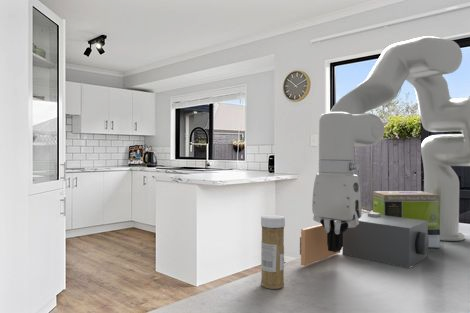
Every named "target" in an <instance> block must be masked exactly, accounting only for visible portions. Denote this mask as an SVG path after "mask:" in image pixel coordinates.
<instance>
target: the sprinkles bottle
mask: <svg viewBox="0 0 470 313" xmlns="http://www.w3.org/2000/svg"><path fill="white" fill-rule="evenodd" d="M260 226H261V245H260V246H261V248H260V250H261V251H260V252H261V255H260V258H261V259H260V260H261V261H260V264H261V265H260V266H261V281H260V285H261V286H262V287H263V288H265V289H269V290H277V289H279V290H280V289H282V288H283V287H284V286H285V279H284V277H285V276H284V273H285V271H284V270H285V244H284V243H285V242H284V239H285V238H284V236H285V235H284V234H285V232H284V230H285V226H286V218H285V216H284V215H280V214H263V215H261V216H260Z"/></svg>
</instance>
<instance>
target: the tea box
mask: <svg viewBox="0 0 470 313" xmlns="http://www.w3.org/2000/svg"><path fill="white" fill-rule="evenodd" d="M372 212H375V213H381V215H387V216H394V217H402V218H410V219H418V220H426V221H428V238H429V245H428V248H437V249H438V248H441V240H440V198H439V195H437V194H432V193H427V192H424V190H423V191H421V190H420V191H419V190H417V191H414V190H413V191H412V190H411V191H410V190H407V191H405V190H404V191H403V190H400V191H399V190H394V191H393V190H392V191H391V190H390V191H389V190H386V191H385V190H383V191H381V190H380V191H377V190H376V191H374V190H373V191H372Z"/></svg>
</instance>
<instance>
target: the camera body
mask: <svg viewBox="0 0 470 313" xmlns="http://www.w3.org/2000/svg"><path fill="white" fill-rule="evenodd" d="M358 220H359V226H357V227H352V228H348V229H347V230H346V231H345V232H344V233H343V247H342V255H345V256H350V257H354V258H359V259H364V260H368V261H374V262H378V263H382V264H387V265H391V266H396V267H401V268H405V269H410V268H412V267H414V266H415V265H416V263H417V262H418V263H419V261H420V262H421V261H423V260H424V259H426V258H427V257H428V250H429V247H428V245H429V238H428V221H426V220H418V219H410V218H402V217H394V216H387V215H381V213H375V212H373V211H370V212H364V213H363V212H362V213H361V217H360V218H359V219H358ZM347 222H350V221H347ZM422 259H423V260H422ZM418 263H417V264H418ZM414 264H415V265H414ZM411 266H412V267H411Z"/></svg>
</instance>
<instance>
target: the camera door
mask: <svg viewBox="0 0 470 313" xmlns="http://www.w3.org/2000/svg"><path fill="white" fill-rule="evenodd" d="M335 224H336V220H335ZM300 230H301V231H300V234H301V235H300V237H299V255H300V265H301V266H302V267H303V266H304V267H305V266H309V265H311V264H313V263H316V262H318V261H322V260H323V259H326V258H329V257H332V256H334V255H337V254H340V253H341V250H340V251H337V252H333V251H328V245H327V232H326V231H325V228H324V227H323V225H322V224H321V223H319V224H317V225H313V226H309V227H308V226H307V227H305V228H302V229H300Z"/></svg>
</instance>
